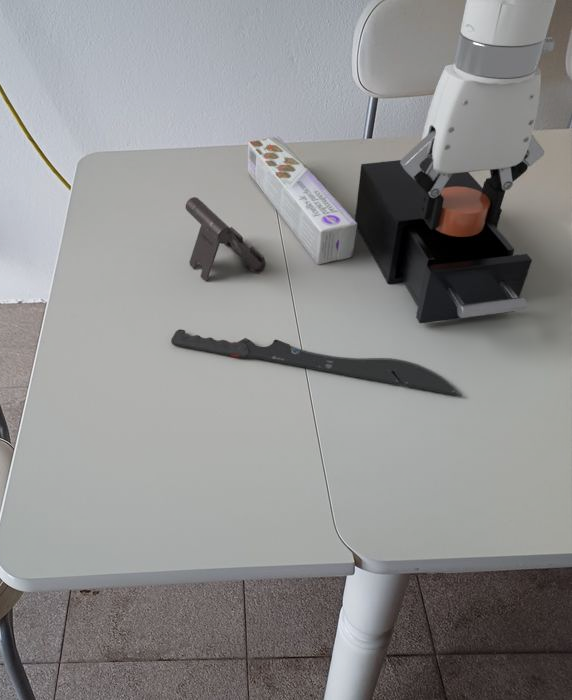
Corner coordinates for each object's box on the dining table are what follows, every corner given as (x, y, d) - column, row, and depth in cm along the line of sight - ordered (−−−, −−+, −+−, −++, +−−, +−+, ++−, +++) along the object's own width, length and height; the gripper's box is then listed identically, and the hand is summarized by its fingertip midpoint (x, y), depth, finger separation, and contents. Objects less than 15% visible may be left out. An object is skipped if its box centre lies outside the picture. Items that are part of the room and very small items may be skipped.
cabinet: (484, 272, 82) (502, 209, 76) (387, 284, 81) (398, 221, 75) (439, 213, 93) (452, 154, 87) (354, 223, 92) (361, 163, 86)
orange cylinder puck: (470, 206, 76) (476, 183, 74) (493, 234, 72) (499, 210, 70) (421, 212, 76) (426, 189, 74) (441, 239, 71) (446, 216, 69)
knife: (462, 372, 69) (464, 368, 69) (461, 400, 66) (462, 396, 66) (182, 323, 77) (181, 319, 76) (169, 345, 74) (169, 342, 74)
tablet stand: (266, 271, 84) (266, 215, 78) (213, 291, 82) (209, 234, 76) (232, 239, 90) (231, 185, 84) (182, 257, 87) (176, 202, 82)
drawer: (533, 337, 72) (553, 284, 67) (434, 350, 71) (447, 297, 66) (466, 247, 85) (479, 198, 80) (381, 257, 84) (389, 207, 79)
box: (354, 257, 86) (359, 220, 82) (318, 266, 84) (320, 229, 81) (277, 168, 105) (278, 134, 101) (246, 174, 104) (246, 140, 100)
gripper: (562, 35, 65) (514, 196, 77) (396, 49, 63) (373, 211, 76) (605, 60, 59) (545, 229, 71) (424, 76, 58) (394, 246, 70)
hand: (457, 218), depth 73 cm, fingers closed on orange cylinder puck, 6 cm apart
